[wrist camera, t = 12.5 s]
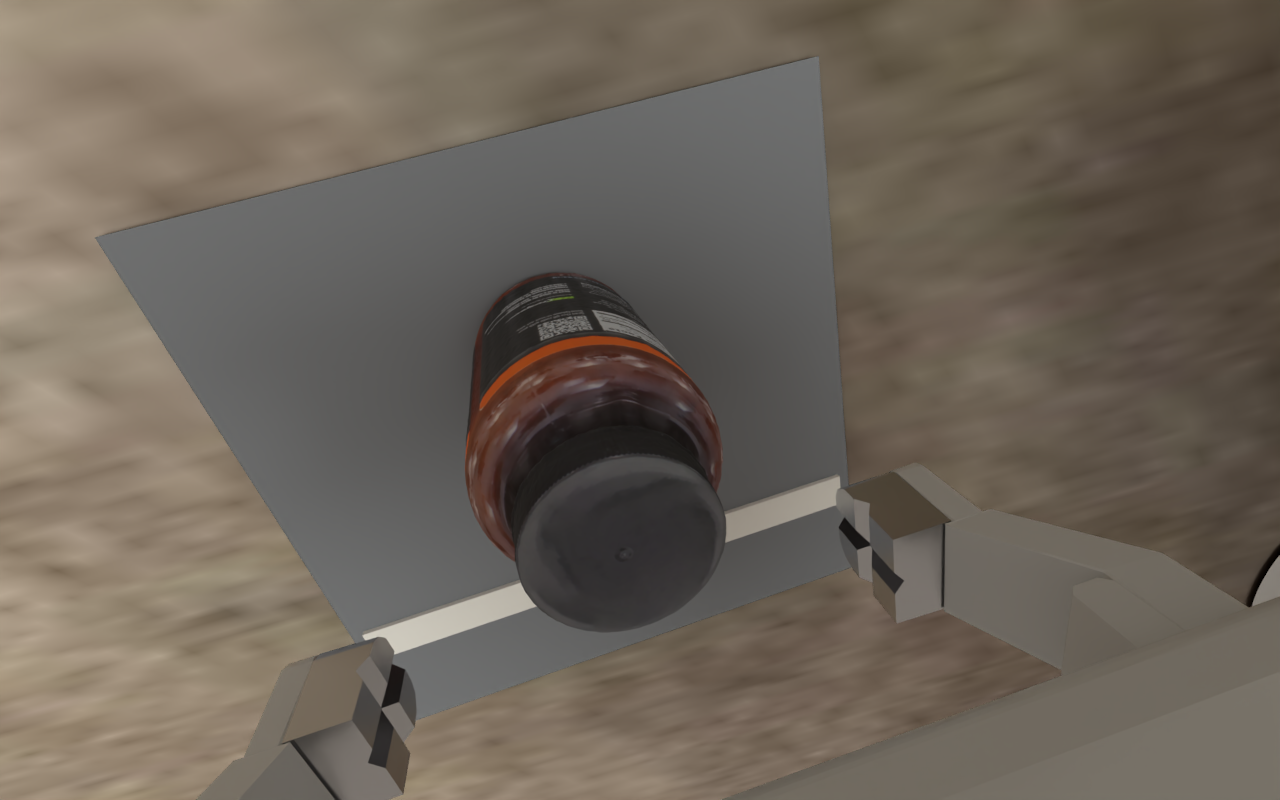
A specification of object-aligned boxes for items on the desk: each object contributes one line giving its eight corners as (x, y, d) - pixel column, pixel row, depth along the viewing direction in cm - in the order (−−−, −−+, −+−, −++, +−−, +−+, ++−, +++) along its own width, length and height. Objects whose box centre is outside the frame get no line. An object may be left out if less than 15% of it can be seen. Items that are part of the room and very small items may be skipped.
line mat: (812, 57, 19) (821, 55, 18) (849, 560, 29) (856, 569, 28) (103, 235, 17) (90, 239, 16) (408, 715, 26) (406, 727, 26)
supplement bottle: (555, 455, 22) (603, 720, 12) (436, 348, 20) (371, 572, 10) (675, 354, 22) (829, 544, 12) (568, 229, 19) (647, 334, 9)
